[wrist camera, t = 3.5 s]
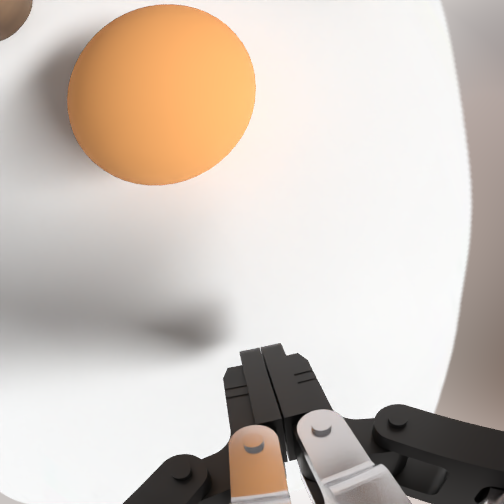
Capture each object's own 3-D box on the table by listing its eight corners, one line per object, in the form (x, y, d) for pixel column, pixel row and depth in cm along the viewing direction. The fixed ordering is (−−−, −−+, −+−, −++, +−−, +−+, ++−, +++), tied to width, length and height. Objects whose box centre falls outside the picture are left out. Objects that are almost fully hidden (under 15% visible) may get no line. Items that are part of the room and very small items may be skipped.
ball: (108, 190, 10) (54, 222, 6) (90, 56, 9) (33, 6, 4) (248, 164, 11) (292, 176, 6) (230, 31, 9) (260, -39, 5)
